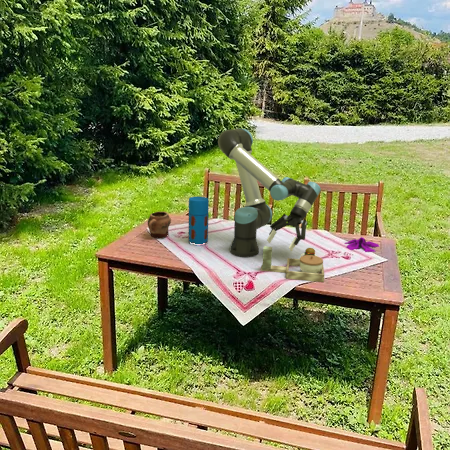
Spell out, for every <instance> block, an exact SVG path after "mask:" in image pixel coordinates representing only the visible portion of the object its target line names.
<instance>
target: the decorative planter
mask: <svg viewBox="0 0 450 450" xmlns="http://www.w3.org/2000/svg"><path fill="white" fill-rule="evenodd" d="M171 223H172V218H171V217H170V215H169V213H168V212H167V211H154V212H151V213H150V215H149V218H148V220H147V226H148V230H149V233H150V236H151V237H152V238H153V237H154V239H164V238H163V237H165V238H167V237H168V236H169V228H170V225H171ZM167 235H168V236H167ZM166 236H167V237H166Z"/></svg>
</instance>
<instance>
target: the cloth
mask: <svg viewBox="0 0 450 450" xmlns="http://www.w3.org/2000/svg"><path fill="white" fill-rule="evenodd" d="M344 245H346V248H347V249H349V250H350V251H355V250H354V249H356V250H359V249H363V251H365V252H364V253H374V252H375V253H376V250H374V249H373V248H378V247H381V245H379V244H378V243H376V242H373V241H369V240H367V241H366V238H364V237H362V236H361V237H360V238H358V239H356V238H355V239H352V240H349V241H347V242H344Z"/></svg>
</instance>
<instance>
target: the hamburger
mask: <svg viewBox="0 0 450 450" xmlns="http://www.w3.org/2000/svg"><path fill="white" fill-rule="evenodd" d="M304 255H313V256H318V255H317V254H316V250H315V248H313V247H307V248H306V249H305V250H304V253H301V254H300V257H301V256H304Z"/></svg>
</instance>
